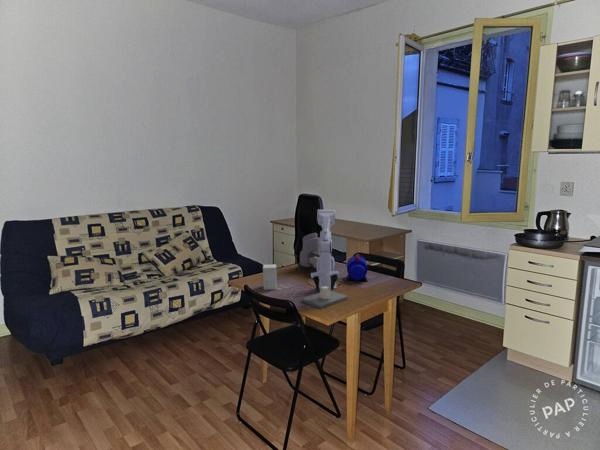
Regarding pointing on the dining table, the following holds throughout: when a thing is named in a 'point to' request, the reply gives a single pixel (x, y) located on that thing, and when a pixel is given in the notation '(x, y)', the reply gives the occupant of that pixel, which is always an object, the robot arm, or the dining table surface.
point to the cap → (324, 292)
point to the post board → (322, 303)
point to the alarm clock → (357, 268)
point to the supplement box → (269, 277)
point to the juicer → (309, 253)
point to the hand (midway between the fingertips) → (324, 290)
